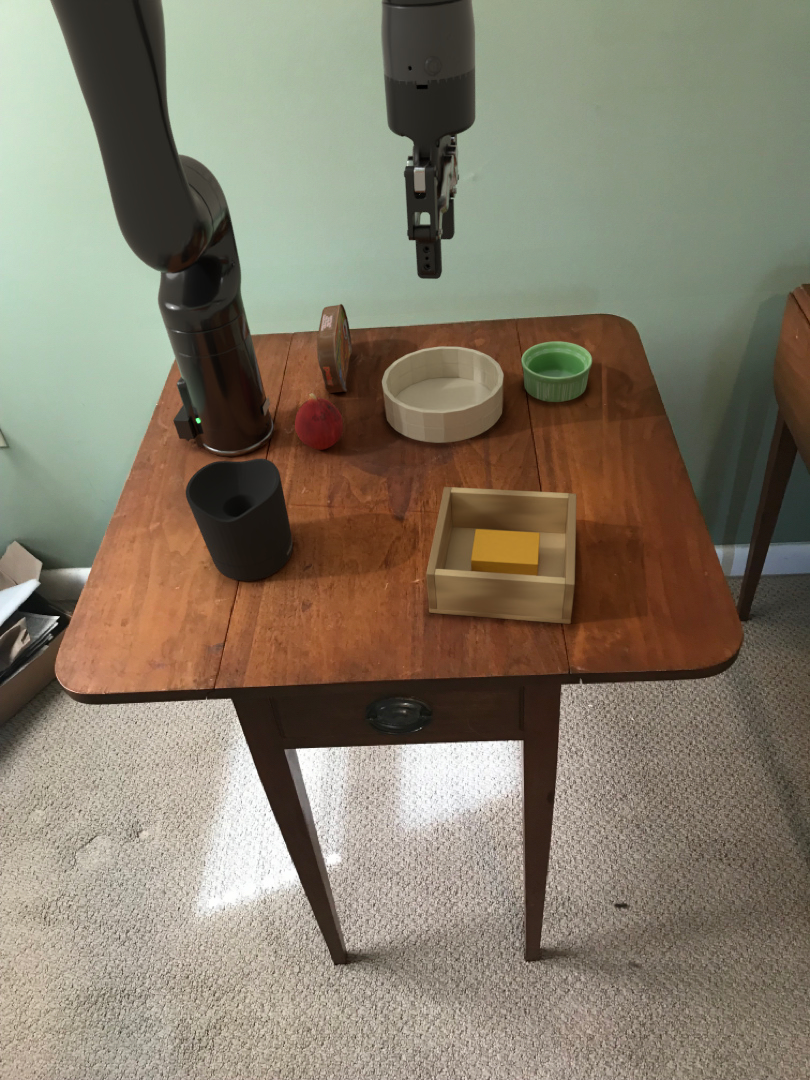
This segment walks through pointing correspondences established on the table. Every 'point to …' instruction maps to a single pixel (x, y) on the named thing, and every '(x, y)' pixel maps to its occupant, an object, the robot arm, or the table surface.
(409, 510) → the table surface
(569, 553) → the box
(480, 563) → the yellow rectangular block
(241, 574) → the pen holder
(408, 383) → the bowl
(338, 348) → the tin
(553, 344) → the ramekin
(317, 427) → the onion
